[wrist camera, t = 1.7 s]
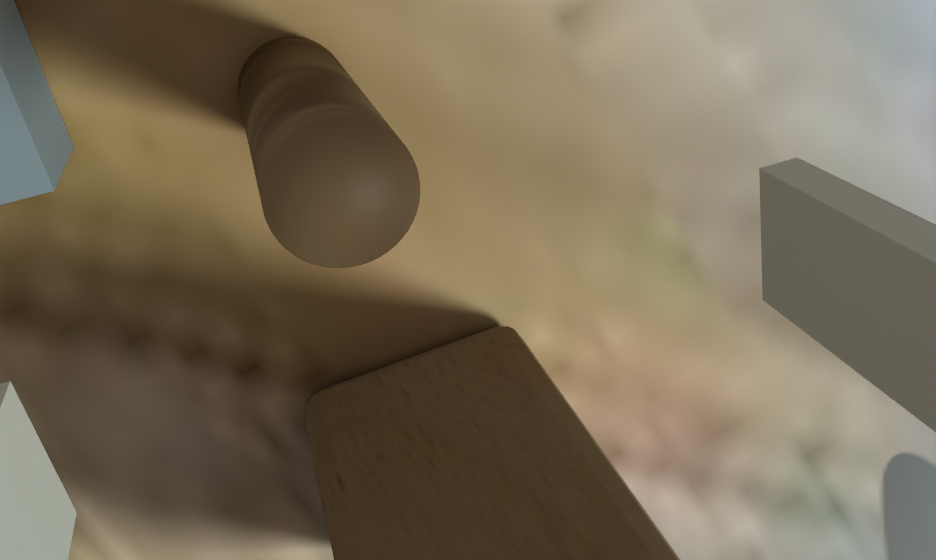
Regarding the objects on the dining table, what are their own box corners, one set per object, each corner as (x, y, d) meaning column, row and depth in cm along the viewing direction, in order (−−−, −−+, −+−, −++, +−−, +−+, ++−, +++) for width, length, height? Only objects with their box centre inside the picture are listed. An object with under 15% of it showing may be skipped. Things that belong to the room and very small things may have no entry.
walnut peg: (256, 156, 33) (286, 286, 23) (223, 51, 31) (241, 139, 21) (358, 130, 34) (433, 243, 23) (333, 25, 32) (401, 98, 22)
